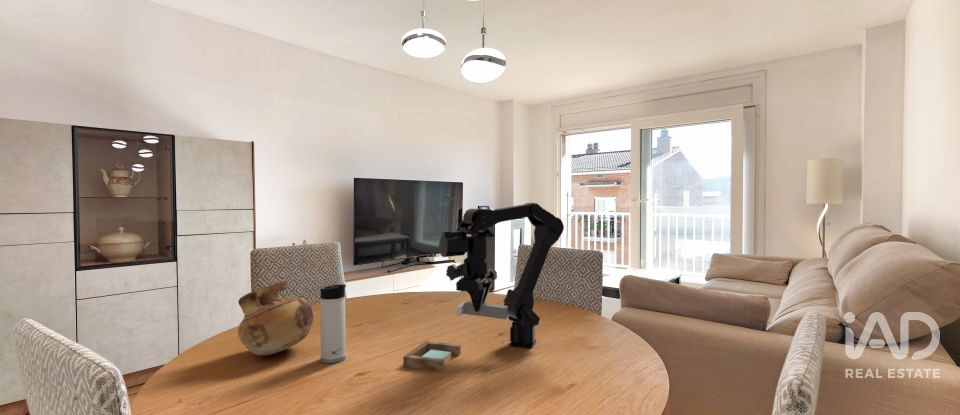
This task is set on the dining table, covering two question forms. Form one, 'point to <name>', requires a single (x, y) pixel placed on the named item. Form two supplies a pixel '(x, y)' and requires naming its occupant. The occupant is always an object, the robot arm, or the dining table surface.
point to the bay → (417, 361)
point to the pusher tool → (483, 310)
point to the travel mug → (332, 323)
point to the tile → (438, 355)
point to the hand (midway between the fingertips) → (478, 310)
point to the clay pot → (273, 320)
